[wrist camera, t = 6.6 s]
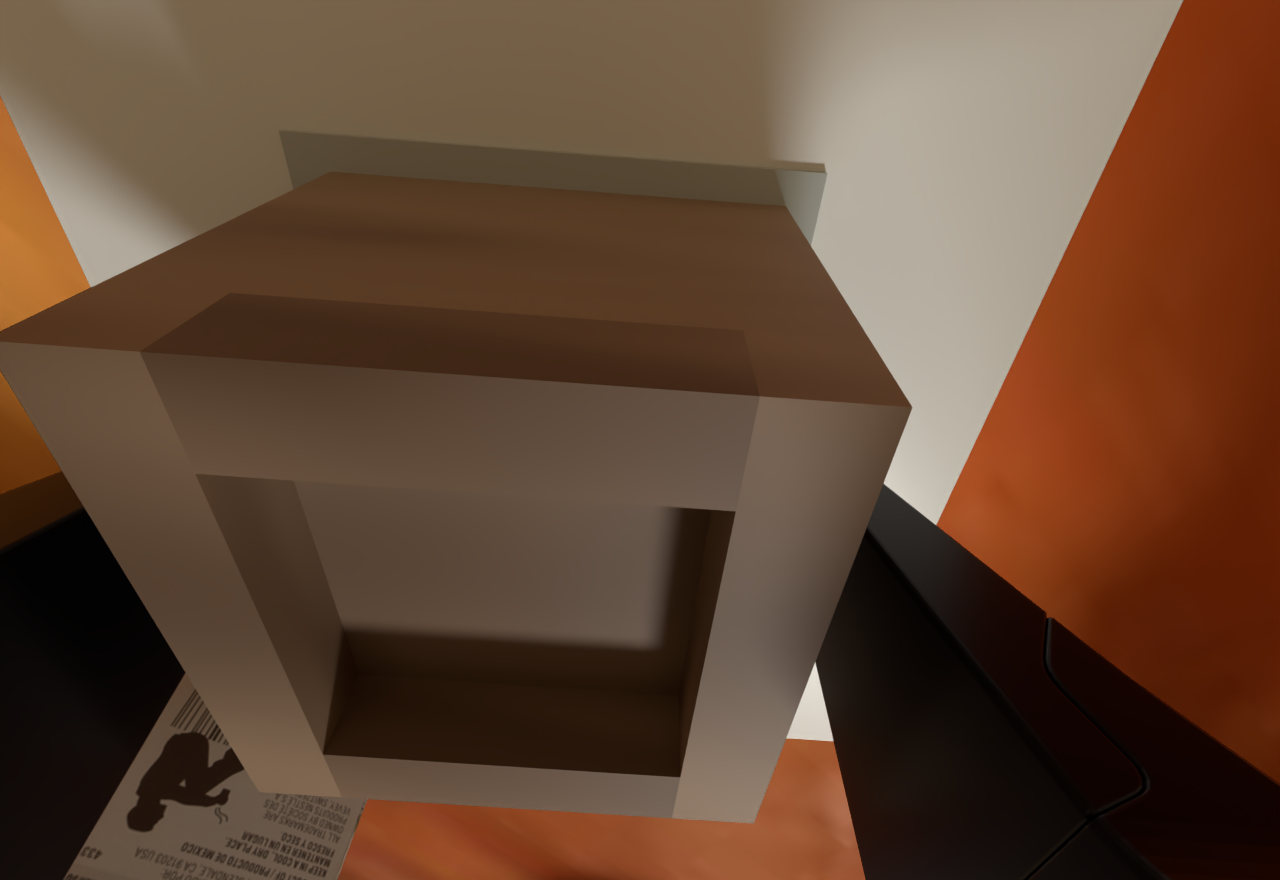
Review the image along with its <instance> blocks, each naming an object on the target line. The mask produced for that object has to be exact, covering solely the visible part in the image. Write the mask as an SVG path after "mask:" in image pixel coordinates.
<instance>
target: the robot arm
mask: <svg viewBox="0 0 1280 880" xmlns="http://www.w3.org/2000/svg"><path fill="white" fill-rule="evenodd" d="M815 663H816V668H817V672H818V676H819V681H820V685H821V689H822V693H823V698H824V702H825V706H826V711H827V715H828V719H829V724H830V728H831V732H832V737H833V741H834V745H835V750H836V754H837V758H838V762H839V767H840V771H841V775H842V780H843V784H844V788H845V793H846V797H847V801H848V806H849V810H850V814H851V818H852V823H853V827H854V831H855V836H856V840H857V844H858V849H859V853H860V857H861V862H862V866H863V870H864V874H865V879H866V880H1280V784H1279V783H1278V782H1276V781H1275V780H1273V779H1272V778H1271V777H1269V776H1268V775H1266V774H1265V773H1264V772H1262V771H1261V770H1259V769H1258V768H1256V767H1255V766H1254V765H1252V764H1251V763H1249V762H1248V761H1246V760H1245V759H1244V758H1242V757H1241V756H1239V755H1238V754H1236V753H1235V752H1234V751H1232V750H1231V749H1229V748H1228V747H1226V746H1225V745H1224V744H1222V743H1221V742H1219V741H1218V740H1216V739H1215V738H1214V737H1212V736H1211V735H1209V734H1208V733H1206V732H1205V731H1204V730H1202V729H1201V728H1199V727H1198V726H1197V725H1195V724H1194V723H1192V722H1191V721H1189V720H1188V719H1187V718H1185V717H1184V716H1182V715H1181V714H1180V713H1178V712H1177V711H1176V710H1174V709H1173V708H1171V707H1170V706H1169V705H1167V704H1166V703H1164V702H1163V701H1162V700H1160V699H1159V698H1157V697H1156V696H1155V695H1153V694H1152V693H1151V692H1149V691H1148V690H1146V689H1145V688H1144V687H1142V686H1141V685H1139V684H1138V683H1137V682H1135V681H1134V680H1132V679H1131V678H1130V677H1129V676H1127V675H1126V674H1125V673H1123V672H1122V671H1121V670H1119V669H1118V668H1117V667H1115V666H1114V665H1113V664H1112V663H1110V662H1109V661H1108V660H1106V659H1105V658H1104V657H1102V656H1101V655H1100V654H1099V653H1097V652H1096V651H1095V650H1093V649H1092V648H1091V647H1089V646H1088V645H1087V644H1085V643H1084V642H1083V641H1082V640H1080V639H1079V638H1078V637H1077V636H1075V635H1074V634H1073V633H1072V632H1070V631H1069V630H1068V629H1067V628H1065V627H1064V626H1063V625H1062V624H1060V623H1059V622H1058V621H1056V620H1055V619H1054V618H1051V617H1049V618H1047V614H1046V612H1045V611H1044V610H1042V609H1041V608H1040V607H1039V606H1037V605H1036V604H1035V603H1033V602H1032V601H1031V600H1030V599H1028V598H1027V597H1026V596H1025V595H1023V594H1022V593H1021V592H1020V591H1018V590H1017V589H1016V588H1015V587H1013V586H1012V585H1011V584H1010V583H1008V582H1007V581H1006V580H1005V579H1003V578H1002V577H1001V576H999V575H998V574H997V573H996V572H994V571H993V570H992V569H991V568H989V567H988V566H987V565H986V564H984V563H983V562H982V561H981V560H979V559H978V558H977V557H976V556H974V555H973V554H972V553H970V552H969V551H968V550H967V549H965V548H964V547H963V546H962V545H960V544H959V543H958V542H957V541H955V540H954V539H953V538H952V537H950V536H949V535H948V534H947V533H945V532H944V531H943V530H941V529H940V528H939V527H938V526H936V525H935V524H934V523H933V522H931V521H930V520H929V519H928V518H926V517H925V516H924V515H923V514H921V513H920V512H919V511H918V510H916V509H915V508H914V507H913V506H911V505H910V504H909V503H907V502H906V501H905V500H904V499H902V498H901V497H900V496H899V495H897V494H896V493H895V492H894V491H892V490H891V489H890V488H889V487H887V486H886V485H885V484H884V483H883V486H882V489H881V491H880V494H879V497H878V499H877V502H876V504H875V507H874V510H873V512H872V515H871V517H870V520H869V523H868V525H867V528H866V531H865V533H864V536H863V538H862V541H861V544H860V546H859V549H858V552H857V554H856V557H855V559H854V562H853V565H852V567H851V570H850V572H849V575H848V578H847V580H846V583H845V586H844V588H843V591H842V593H841V596H840V599H839V601H838V604H837V606H836V609H835V612H834V614H833V617H832V620H831V622H830V625H829V627H828V630H827V633H826V635H825V638H824V641H823V643H822V646H821V648H820V651H819V654H818V656H817V659H816V661H815ZM185 673H186V672H185V671H184V669H183V667H182V666H181V664H180V663H179V661H178V659H177V658H176V656H175V654H174V653H173V651H172V650H171V648H170V646H169V645H168V643H167V641H166V640H165V638H164V636H163V635H162V633H161V632H160V630H159V628H158V627H157V625H156V623H155V622H154V620H153V619H152V617H151V615H150V614H149V612H148V610H147V609H146V607H145V605H144V604H143V602H142V601H141V599H140V597H139V596H138V594H137V592H136V591H135V589H134V588H133V586H132V584H131V583H130V581H129V579H128V578H127V576H126V575H125V573H124V571H123V570H122V568H121V566H120V565H119V563H118V561H117V560H116V558H115V557H114V555H113V553H112V552H111V550H110V548H109V547H108V545H107V544H106V542H105V540H104V539H103V537H102V535H101V534H100V532H99V531H98V529H97V527H96V526H95V524H94V522H93V521H92V519H91V517H90V516H89V514H88V513H87V511H86V509H85V508H84V506H83V504H82V503H81V501H80V500H79V498H78V496H77V495H76V493H75V491H74V490H73V488H72V487H71V485H70V483H69V482H68V480H67V478H66V477H65V475H64V473H63V472H62V471H61V472H58V473H56V474H53V475H50V476H48V477H45V478H42V479H40V480H37V481H34V482H32V483H29V484H26V485H24V486H21V487H18V488H16V489H13V490H10V491H8V492H5V493H2V494H0V880H64V878H65V876H66V875H67V873H68V871H69V870H70V868H71V866H72V865H73V863H74V861H75V860H76V858H77V856H78V854H79V853H80V851H81V849H82V848H83V846H84V844H85V843H86V841H87V839H88V838H89V836H90V834H91V832H92V831H93V829H94V827H95V826H96V824H97V822H98V821H99V819H100V817H101V816H102V814H103V812H104V810H105V809H106V807H107V805H108V804H109V802H110V800H111V799H112V797H113V795H114V794H115V792H116V790H117V788H118V787H119V785H120V783H121V782H122V780H123V778H124V777H125V775H126V773H127V772H128V770H129V768H130V766H131V765H132V763H133V761H134V760H135V758H136V756H137V755H138V753H139V751H140V750H141V748H142V746H143V745H144V743H145V741H146V739H147V738H148V736H149V734H150V733H151V731H152V729H153V728H154V726H155V724H156V723H157V721H158V719H159V717H160V716H161V714H162V712H163V711H164V709H165V707H166V706H167V704H168V702H169V701H170V699H171V697H172V695H173V694H174V692H175V690H176V689H177V687H178V685H179V684H180V682H181V680H182V679H183V677H184V675H185Z"/></svg>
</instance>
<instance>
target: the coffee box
mask: <svg viewBox="0 0 1280 880" xmlns="http://www.w3.org/2000/svg"><path fill="white" fill-rule="evenodd" d="M366 802H367V799H360V798H344V797H328V796H312V795H296V794H280V793H265V792H259V791H258V790H257V788H256V786H255V785H254V783H253V782H252V780H251V778H250V777H249V775H248V773H247V772H246V770H245V768H244V767H243V765H242V764H241V762H240V760H239V759H238V757H237V755H236V754H235V752H234V751H233V749H232V747H231V746H230V744H229V742H228V741H227V739H226V738H225V736H224V734H223V733H222V731H221V729H220V728H219V726H218V724H217V723H216V721H215V720H214V718H213V716H212V715H211V713H210V711H209V710H208V708H207V707H206V705H205V703H204V702H203V700H202V698H201V697H200V695H199V694H198V692H197V690H196V689H195V687H194V685H193V684H192V682H191V680H190V679H189V677H188V676H187V674H186V673H185V675H184V677H183V679H182V680H181V682H180V684H179V685H178V687H177V689H176V690H175V692H174V694H173V695H172V697H171V699H170V701H169V702H168V704H167V706H166V707H165V709H164V711H163V712H162V714H161V716H160V717H159V719H158V721H157V723H156V724H155V726H154V728H153V729H152V731H151V733H150V734H149V736H148V738H147V739H146V741H145V743H144V745H143V746H142V748H141V750H140V751H139V753H138V755H137V756H136V758H135V760H134V761H133V763H132V765H131V766H130V768H129V770H128V772H127V773H126V775H125V777H124V778H123V780H122V782H121V783H120V785H119V787H118V788H117V790H116V792H115V794H114V795H113V797H112V799H111V800H110V802H109V804H108V805H107V807H106V809H105V810H104V812H103V814H102V816H101V817H100V819H99V821H98V822H97V824H96V826H95V827H94V829H93V831H92V832H91V834H90V836H89V838H88V839H87V841H86V843H85V844H84V846H83V848H82V849H81V851H80V853H79V854H78V856H77V858H76V860H75V861H74V863H73V865H72V866H71V868H70V870H69V871H68V873H67V875H66V876H65V878H64V880H337V879H338V876H339V873H340V871H341V868H342V866H343V863H344V860H345V857H346V855H347V852H348V849H349V847H350V844H351V841H352V839H353V836H354V834H355V831H356V828H357V826H358V823H359V820H360V817H361V815H362V812H363V809H364V807H365V804H366Z"/></svg>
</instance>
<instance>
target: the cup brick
mask: <svg viewBox="0 0 1280 880" xmlns="http://www.w3.org/2000/svg"><path fill="white" fill-rule="evenodd" d="M0 371H1V372H2V374H3V376H4V377H5V379H6V381H7V382H8V384H9V385H10V387H11V389H12V390H13V392H14V394H15V395H16V397H17V398H18V400H19V402H20V403H21V405H22V407H23V408H24V410H25V412H26V413H27V415H28V416H29V418H30V420H31V421H32V423H33V425H34V426H35V428H36V429H37V431H38V433H39V434H40V436H41V438H42V439H43V441H44V442H45V444H46V446H47V447H48V449H49V451H50V452H51V454H52V456H53V457H54V459H55V460H56V462H57V464H58V465H59V467H60V469H61V470H62V472H63V473H64V475H65V477H66V478H67V480H68V482H69V483H70V485H71V487H72V488H73V490H74V491H75V493H76V495H77V496H78V498H79V500H80V501H81V503H82V504H83V506H84V508H85V509H86V511H87V513H88V514H89V516H90V517H91V519H92V521H93V522H94V524H95V526H96V527H97V529H98V531H99V532H100V534H101V535H102V537H103V539H104V540H105V542H106V544H107V545H108V547H109V548H110V550H111V552H112V553H113V555H114V557H115V558H116V560H117V561H118V563H119V565H120V566H121V568H122V570H123V571H124V573H125V575H126V576H127V578H128V579H129V581H130V583H131V584H132V586H133V588H134V589H135V591H136V592H137V594H138V596H139V597H140V599H141V601H142V602H143V604H144V605H145V607H146V609H147V610H148V612H149V614H150V615H151V617H152V619H153V620H154V622H155V623H156V625H157V627H158V628H159V630H160V632H161V633H162V635H163V636H164V638H165V640H166V641H167V643H168V645H169V646H170V648H171V650H172V651H173V653H174V654H175V656H176V658H177V659H178V661H179V663H180V664H181V666H182V667H183V669H184V671H185V672H186V674H187V676H188V677H189V679H190V680H191V682H192V684H193V685H194V687H195V689H196V690H197V692H198V694H199V695H200V697H201V698H202V700H203V702H204V703H205V705H206V707H207V708H208V710H209V711H210V713H211V715H212V716H213V718H214V720H215V721H216V723H217V724H218V726H219V728H220V729H221V731H222V733H223V734H224V736H225V738H226V739H227V741H228V742H229V744H230V746H231V747H232V749H233V751H234V752H235V754H236V755H237V757H238V759H239V760H240V762H241V764H242V765H243V767H244V768H245V770H246V772H247V773H248V775H249V777H250V778H251V780H252V782H253V783H254V785H255V786H256V788H257V790H258V791H259V792H265V793H280V794H296V795H312V796H328V797H344V798H360V799H375V800H391V801H407V802H423V803H439V804H455V805H471V806H486V807H502V808H518V809H534V810H550V811H566V812H582V813H597V814H613V815H629V816H645V817H661V818H677V819H693V820H708V821H724V822H740V823H754V821H755V819H756V816H757V813H758V811H759V808H760V805H761V803H762V800H763V798H764V795H765V792H766V790H767V787H768V785H769V782H770V779H771V777H772V774H773V771H774V769H775V766H776V764H777V761H778V758H779V756H780V753H781V750H782V748H783V745H784V743H785V740H786V737H787V735H788V732H789V730H790V727H791V724H792V722H793V719H794V716H795V714H796V711H797V709H798V706H799V703H800V701H801V698H802V695H803V693H804V690H805V688H806V685H807V682H808V680H809V677H810V675H811V672H812V669H813V667H814V664H815V661H816V659H817V656H818V654H819V651H820V648H821V646H822V643H823V641H824V638H825V635H826V633H827V630H828V627H829V625H830V622H831V620H832V617H833V614H834V612H835V609H836V606H837V604H838V601H839V599H840V596H841V593H842V591H843V588H844V586H845V583H846V580H847V578H848V575H849V572H850V570H851V567H852V565H853V562H854V559H855V557H856V554H857V552H858V549H859V546H860V544H861V541H862V538H863V536H864V533H865V531H866V528H867V525H868V523H869V520H870V517H871V515H872V512H873V510H874V507H875V504H876V502H877V499H878V497H879V494H880V491H881V489H882V486H883V483H884V481H885V478H886V476H887V473H888V470H889V468H890V465H891V463H892V460H893V457H894V455H895V452H896V449H897V447H898V444H899V442H900V439H901V436H902V434H903V431H904V428H905V426H906V423H907V421H908V418H909V415H910V413H911V410H912V408H913V407H912V406H911V404H910V403H909V401H908V399H907V398H906V396H905V395H904V393H903V391H902V390H901V388H900V387H899V385H898V383H897V382H896V380H895V379H894V377H893V376H892V374H891V372H890V371H889V369H888V368H887V366H886V364H885V363H884V361H883V360H882V358H881V356H880V355H879V353H878V352H877V350H876V349H875V347H874V345H873V344H872V342H871V341H870V339H869V337H868V336H867V334H866V333H865V331H864V329H863V328H862V326H861V325H860V323H859V322H858V320H857V318H856V317H855V315H854V314H853V312H852V310H851V309H850V307H849V306H848V304H847V303H846V301H845V299H844V298H843V296H842V295H841V293H840V291H839V290H838V288H837V287H836V285H835V283H834V282H833V280H832V279H831V277H830V276H829V274H828V272H827V271H826V269H825V268H824V266H823V264H822V263H821V261H820V260H819V258H818V256H817V255H816V253H815V252H814V250H813V249H812V247H811V245H810V244H809V242H808V241H807V239H806V237H805V236H804V234H803V233H802V231H801V229H800V228H799V226H798V225H797V223H796V222H795V220H794V218H793V217H792V215H791V214H790V212H789V210H788V209H787V207H786V206H776V205H763V204H750V203H737V202H724V201H710V200H697V199H684V198H671V197H658V196H645V195H631V194H618V193H605V192H592V191H579V190H566V189H553V188H539V187H526V186H513V185H500V184H487V183H474V182H460V181H447V180H434V179H421V178H408V177H395V176H381V175H368V174H355V173H342V172H329V173H326V174H324V175H322V176H320V177H318V178H316V179H314V180H312V181H310V182H308V183H306V184H304V185H302V186H300V187H298V188H296V189H293V190H291V191H289V192H287V193H285V194H283V195H281V196H279V197H277V198H275V199H273V200H271V201H269V202H267V203H265V204H262V205H260V206H258V207H256V208H254V209H252V210H250V211H248V212H246V213H244V214H242V215H240V216H238V217H236V218H234V219H231V220H229V221H227V222H225V223H223V224H221V225H219V226H217V227H215V228H213V229H211V230H209V231H207V232H205V233H203V234H200V235H198V236H196V237H194V238H192V239H190V240H188V241H186V242H184V243H182V244H180V245H178V246H176V247H174V248H172V249H170V250H167V251H165V252H163V253H161V254H159V255H157V256H155V257H153V258H151V259H149V260H147V261H145V262H143V263H141V264H139V265H136V266H134V267H132V268H130V269H128V270H126V271H124V272H122V273H120V274H118V275H116V276H114V277H112V278H110V279H108V280H105V281H103V282H101V283H99V284H97V285H95V286H93V287H91V288H89V289H87V290H85V291H83V292H81V293H79V294H77V295H74V296H72V297H70V298H68V299H66V300H64V301H62V302H60V303H58V304H56V305H54V306H52V307H50V308H48V309H46V310H44V311H41V312H39V313H37V314H35V315H33V316H31V317H29V318H27V319H25V320H23V321H21V322H19V323H17V324H15V325H13V326H10V327H8V328H6V329H4V330H2V331H0Z"/></svg>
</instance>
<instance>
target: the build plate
mask: <svg viewBox="0 0 1280 880" xmlns="http://www.w3.org/2000/svg"><path fill="white" fill-rule="evenodd" d="M1182 2H1183V0H0V96H1V98H2V100H3V102H4V104H5V107H6V109H7V111H8V113H9V115H10V117H11V119H12V121H13V123H14V126H15V128H16V130H17V132H18V134H19V136H20V138H21V140H22V142H23V145H24V147H25V149H26V151H27V153H28V155H29V157H30V159H31V161H32V164H33V166H34V168H35V170H36V172H37V174H38V176H39V178H40V181H41V183H42V185H43V187H44V189H45V191H46V193H47V195H48V197H49V200H50V202H51V204H52V206H53V208H54V210H55V212H56V214H57V216H58V219H59V221H60V223H61V225H62V227H63V229H64V231H65V233H66V236H67V238H68V240H69V242H70V244H71V246H72V248H73V250H74V252H75V255H76V257H77V259H78V261H79V263H80V265H81V267H82V269H83V271H84V274H85V276H86V278H87V280H88V282H89V284H90V286H91V287H93V286H95V285H97V284H99V283H101V282H103V281H105V280H108V279H110V278H112V277H114V276H116V275H118V274H120V273H122V272H124V271H126V270H128V269H130V268H132V267H134V266H136V265H139V264H141V263H143V262H145V261H147V260H149V259H151V258H153V257H155V256H157V255H159V254H161V253H163V252H165V251H167V250H170V249H172V248H174V247H176V246H178V245H180V244H182V243H184V242H186V241H188V240H190V239H192V238H194V237H196V236H198V235H200V234H203V233H205V232H207V231H209V230H211V229H213V228H215V227H217V226H219V225H221V224H223V223H225V222H227V221H229V220H231V219H234V218H236V217H238V216H240V215H242V214H244V213H246V212H248V211H250V210H252V209H254V208H256V207H258V206H260V205H262V204H265V203H267V202H269V201H271V200H273V199H275V198H277V197H279V196H281V195H283V194H285V193H287V192H289V191H291V190H293V189H296V188H298V187H300V186H302V185H304V184H306V183H308V182H310V181H312V180H314V179H316V178H318V177H320V176H322V175H324V174H326V173H329V172H342V173H355V174H368V175H381V176H395V177H408V178H421V179H434V180H447V181H460V182H474V183H487V184H500V185H513V186H526V187H539V188H553V189H566V190H579V191H592V192H605V193H618V194H631V195H645V196H658V197H671V198H684V199H697V200H710V201H724V202H737V203H750V204H763V205H776V206H786V207H787V209H788V210H789V212H790V214H791V215H792V217H793V218H794V220H795V222H796V223H797V225H798V226H799V228H800V229H801V231H802V233H803V234H804V236H805V237H806V239H807V241H808V242H809V244H810V245H811V247H812V249H813V250H814V252H815V253H816V255H817V256H818V258H819V260H820V261H821V263H822V264H823V266H824V268H825V269H826V271H827V272H828V274H829V276H830V277H831V279H832V280H833V282H834V283H835V285H836V287H837V288H838V290H839V291H840V293H841V295H842V296H843V298H844V299H845V301H846V303H847V304H848V306H849V307H850V309H851V310H852V312H853V314H854V315H855V317H856V318H857V320H858V322H859V323H860V325H861V326H862V328H863V329H864V331H865V333H866V334H867V336H868V337H869V339H870V341H871V342H872V344H873V345H874V347H875V349H876V350H877V352H878V353H879V355H880V356H881V358H882V360H883V361H884V363H885V364H886V366H887V368H888V369H889V371H890V372H891V374H892V376H893V377H894V379H895V380H896V382H897V383H898V385H899V387H900V388H901V390H902V391H903V393H904V395H905V396H906V398H907V399H908V401H909V403H910V404H911V406H912V407H913V408H912V410H911V413H910V415H909V418H908V421H907V423H906V426H905V428H904V431H903V434H902V436H901V439H900V442H899V444H898V447H897V449H896V452H895V455H894V457H893V460H892V463H891V465H890V468H889V470H888V473H887V476H886V478H885V481H884V484H885V485H886V486H887V487H889V488H890V489H891V490H892V491H894V492H895V493H896V494H897V495H899V496H900V497H901V498H902V499H904V500H905V501H906V502H907V503H909V504H910V505H911V506H913V507H914V508H915V509H916V510H918V511H919V512H920V513H921V514H923V515H924V516H925V517H926V518H928V519H929V520H930V521H931V522H933V523H934V524H935V525H936V524H937V522H938V520H939V518H940V516H941V513H942V511H943V509H944V507H945V505H946V503H947V501H948V499H949V496H950V494H951V492H952V490H953V488H954V486H955V484H956V482H957V479H958V477H959V475H960V473H961V471H962V469H963V467H964V465H965V462H966V460H967V458H968V456H969V454H970V452H971V450H972V448H973V446H974V443H975V441H976V439H977V437H978V435H979V433H980V431H981V429H982V426H983V424H984V422H985V420H986V418H987V416H988V414H989V412H990V409H991V407H992V405H993V403H994V401H995V399H996V397H997V395H998V392H999V390H1000V388H1001V386H1002V384H1003V382H1004V380H1005V378H1006V375H1007V373H1008V371H1009V369H1010V367H1011V365H1012V363H1013V361H1014V359H1015V356H1016V354H1017V352H1018V350H1019V348H1020V346H1021V344H1022V342H1023V339H1024V337H1025V335H1026V333H1027V331H1028V329H1029V327H1030V325H1031V322H1032V320H1033V318H1034V316H1035V314H1036V312H1037V310H1038V308H1039V305H1040V303H1041V301H1042V299H1043V297H1044V295H1045V293H1046V291H1047V288H1048V286H1049V284H1050V282H1051V280H1052V278H1053V276H1054V274H1055V272H1056V269H1057V267H1058V265H1059V263H1060V261H1061V259H1062V257H1063V255H1064V252H1065V250H1066V248H1067V246H1068V244H1069V242H1070V240H1071V238H1072V235H1073V233H1074V231H1075V229H1076V227H1077V225H1078V223H1079V221H1080V218H1081V216H1082V214H1083V212H1084V210H1085V208H1086V206H1087V204H1088V202H1089V199H1090V197H1091V195H1092V193H1093V191H1094V189H1095V187H1096V185H1097V182H1098V180H1099V178H1100V176H1101V174H1102V172H1103V170H1104V168H1105V165H1106V163H1107V161H1108V159H1109V157H1110V155H1111V153H1112V151H1113V148H1114V146H1115V144H1116V142H1117V140H1118V138H1119V136H1120V134H1121V131H1122V129H1123V127H1124V125H1125V123H1126V121H1127V119H1128V117H1129V115H1130V112H1131V110H1132V108H1133V106H1134V104H1135V102H1136V100H1137V98H1138V95H1139V93H1140V91H1141V89H1142V87H1143V85H1144V83H1145V81H1146V78H1147V76H1148V74H1149V72H1150V70H1151V68H1152V66H1153V64H1154V61H1155V59H1156V57H1157V55H1158V53H1159V51H1160V49H1161V47H1162V44H1163V42H1164V40H1165V38H1166V36H1167V34H1168V32H1169V30H1170V28H1171V25H1172V23H1173V21H1174V19H1175V17H1176V15H1177V13H1178V11H1179V8H1180V6H1181V4H1182ZM786 738H792V739H807V740H822V741H833V737H832V732H831V728H830V724H829V719H828V715H827V711H826V706H825V702H824V698H823V693H822V689H821V685H820V681H819V676H818V672H817V668H816V663H815V664H814V667H813V669H812V672H811V675H810V677H809V680H808V682H807V685H806V688H805V690H804V693H803V695H802V698H801V701H800V703H799V706H798V709H797V711H796V714H795V716H794V719H793V722H792V724H791V727H790V730H789V732H788V735H787V737H786Z"/></svg>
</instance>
